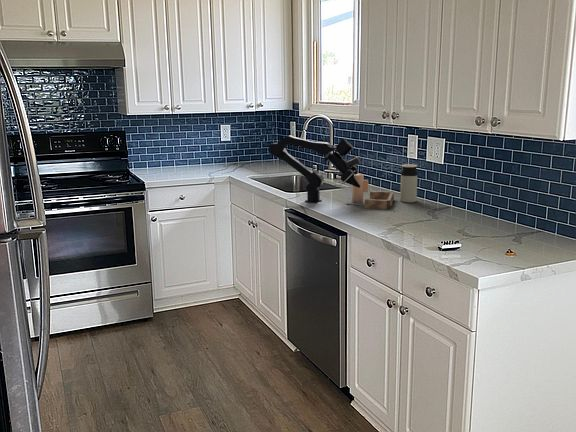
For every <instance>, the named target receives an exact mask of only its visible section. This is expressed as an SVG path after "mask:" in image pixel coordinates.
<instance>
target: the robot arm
mask: <svg viewBox="0 0 576 432" xmlns="http://www.w3.org/2000/svg"><path fill="white" fill-rule="evenodd" d="M290 145H292V146H296V147H300V148H305V149H308V150H312V151H313V152H315V153H317V154H319V155H322V156H324V157H323V159H324V163H327V162H328V161H329V163H330V164H331V165H332V166H333V167H335V168H334V169H335V170H336V171H338V172H339V173H340V180H341V182H342V183H343V182H344V183H346V184H349V185H351V186H352V185H353V186H356V187H358V188H360V187H361V186H360V185H359V183H358V182H357V180H356V179H355V177H354V174H359V173H358V171H359V170H358V167H357V165H360V163H361V160H360V158H359V156H356V155H353V156H351V159H350V160H347V159H344V158H343V156H344V157H346V156H347V155H348V154H349V153H350V152H351V151H352V150H353V149H354V146H353V145H352V143H350V141H348V140H346V139H345V138H342V139H341V141H339V143H338V144H337V145H334V144H331V143H330V142H328V141H312V140H308V139H304V138H301V137H296V136H294V135H287V136H286V137H284V138H283V139H281V140H280V141H278V142H274V143H271V144H270V145H269V147H268V152H269V154H270V155H271V156H274V157H275V158H278V159H280V160H282V161H284V162H285V163H286V164H288V165H289V166H290V167H292V168H293V169H294V170H296V172H299V174H301V175H302V176H303V177H304V178H305V179H306V181H307V182H308V184H307V185H306V186H305V188H306V194H307V197H306V198H307V199H305V200H304V202H306V203H307V202H308V203H313V204H315V203H319V202H322V201H323V199H321V198H320V197H321V195H320V192H321V191H320V188H321V186H322V185H323V184H324V181H325V178H324V176H323V173H321V172H319V171H318V170H317V169H314V170H311V169H310V168H308V167H307V166H306V165H305V164H303V163H302V162H301V161H299V160H298V159H297V158H295V157H294V156H293V155H291V154H290V153H289V152H288V151H287V149H286V147H288V146H290Z"/></svg>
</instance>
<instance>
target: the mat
mask: <svg viewBox="0 0 576 432" xmlns="http://www.w3.org/2000/svg"><path fill="white" fill-rule="evenodd" d="M346 206H365V199H363V202H362V203H353V202H352V199H349V200H348V201H347V203H346Z"/></svg>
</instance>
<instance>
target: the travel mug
mask: <svg viewBox="0 0 576 432" xmlns="http://www.w3.org/2000/svg"><path fill="white" fill-rule="evenodd" d="M401 167H402V168H401V170H400V191H399V193H400V194H399V196H400V198H399V200H400V202H402V203H406V204H407V203H409V204H410V203H416V202H417V198H418V196H417V195H418V175H419V174H418V170H417V167H418V165H417V164H413V163H411V164H409V163H408V164H405V163H404V164H401Z"/></svg>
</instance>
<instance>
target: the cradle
mask: <svg viewBox="0 0 576 432" xmlns="http://www.w3.org/2000/svg"><path fill="white" fill-rule="evenodd" d="M394 196H395V191H382V190H381V191H379V190H369V199H367V198H364V200H365V205H364V209H379V210H380V209H381V210H384V209H385V210H390V209H391V207H392V204H393V202H394V199H395V197H394Z"/></svg>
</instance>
